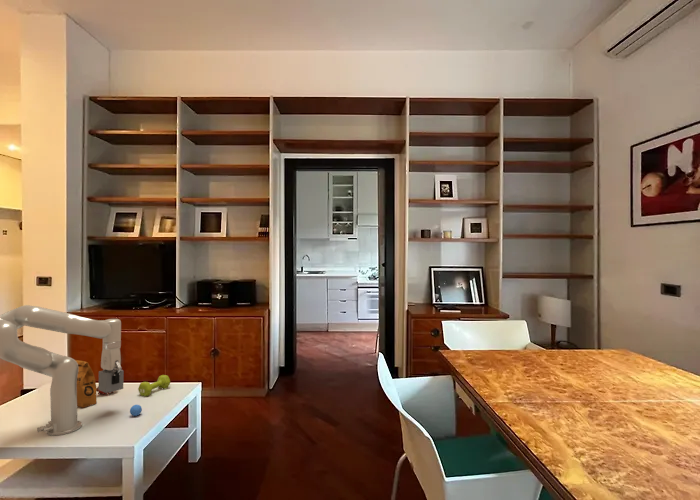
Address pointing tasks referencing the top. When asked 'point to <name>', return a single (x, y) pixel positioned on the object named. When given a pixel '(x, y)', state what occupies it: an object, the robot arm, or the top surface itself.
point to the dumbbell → (154, 385)
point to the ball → (135, 410)
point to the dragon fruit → (102, 392)
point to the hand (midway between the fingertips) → (111, 381)
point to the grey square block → (109, 381)
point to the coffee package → (85, 385)
